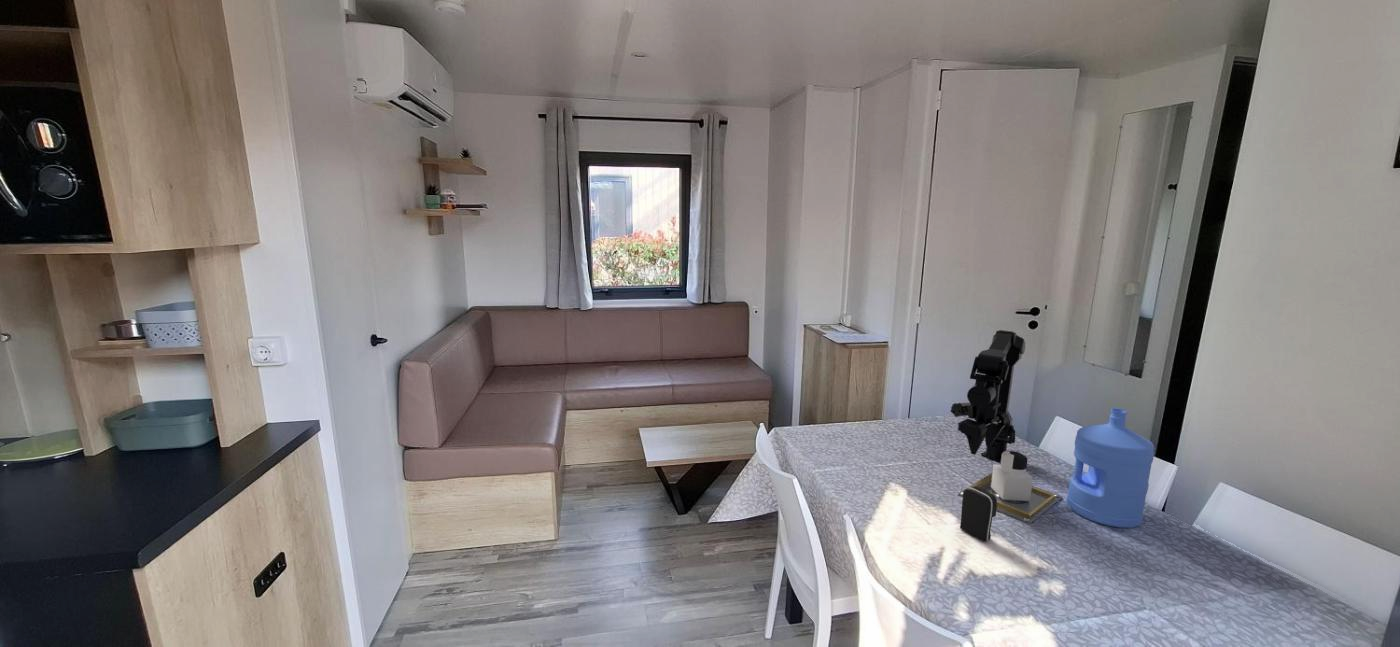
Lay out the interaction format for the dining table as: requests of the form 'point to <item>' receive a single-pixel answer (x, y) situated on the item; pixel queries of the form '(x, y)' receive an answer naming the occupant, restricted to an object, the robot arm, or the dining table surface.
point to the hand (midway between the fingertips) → (980, 450)
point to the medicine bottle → (1012, 477)
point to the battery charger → (978, 512)
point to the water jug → (1111, 473)
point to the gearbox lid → (1021, 502)
